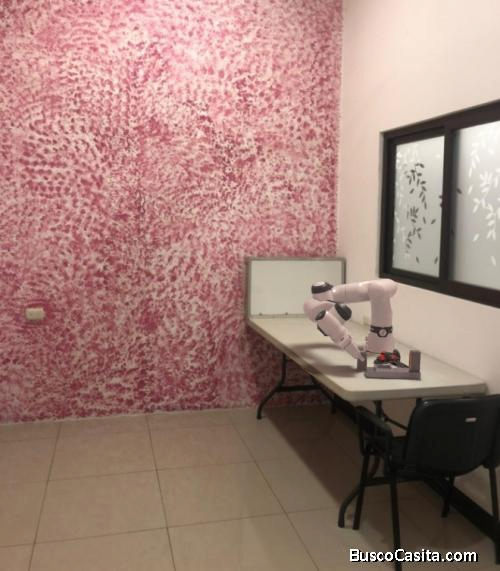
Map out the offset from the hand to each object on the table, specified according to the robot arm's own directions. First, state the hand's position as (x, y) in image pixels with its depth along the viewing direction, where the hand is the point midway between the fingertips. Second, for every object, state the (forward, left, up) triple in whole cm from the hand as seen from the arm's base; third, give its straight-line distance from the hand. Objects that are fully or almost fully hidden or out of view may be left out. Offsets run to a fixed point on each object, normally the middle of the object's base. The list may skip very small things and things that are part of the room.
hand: (363, 359), depth 287 cm
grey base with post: (+10, +12, -5) cm, 17 cm away
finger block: (0, -1, -5) cm, 5 cm away
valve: (-11, +15, -6) cm, 20 cm away
